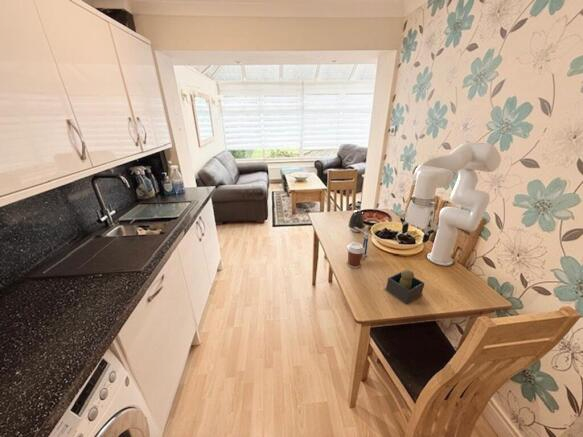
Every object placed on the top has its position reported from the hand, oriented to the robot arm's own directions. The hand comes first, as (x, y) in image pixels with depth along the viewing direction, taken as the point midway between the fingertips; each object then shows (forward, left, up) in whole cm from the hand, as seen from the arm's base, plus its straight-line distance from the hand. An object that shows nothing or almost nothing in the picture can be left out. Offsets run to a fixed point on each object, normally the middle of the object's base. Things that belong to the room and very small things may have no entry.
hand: (414, 237), depth 105 cm
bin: (+4, +3, -26) cm, 27 cm away
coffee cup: (+8, -25, -27) cm, 38 cm away
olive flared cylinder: (+4, +3, -26) cm, 26 cm away
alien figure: (-2, -29, -27) cm, 40 cm away
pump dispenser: (-23, -55, -27) cm, 66 cm away
